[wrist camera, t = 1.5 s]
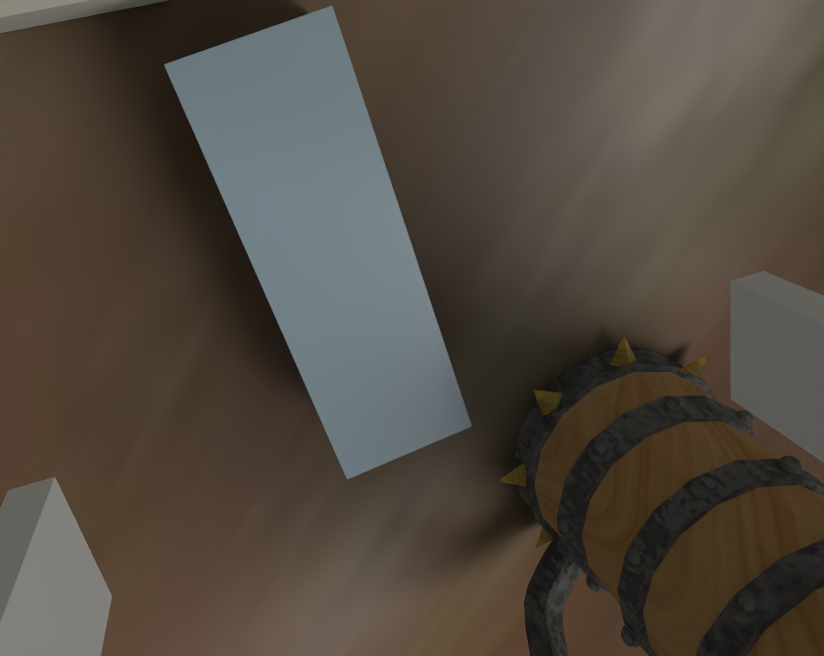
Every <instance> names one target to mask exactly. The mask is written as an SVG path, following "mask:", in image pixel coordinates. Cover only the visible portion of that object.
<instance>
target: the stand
mask: <svg viewBox="0 0 824 656" xmlns="http://www.w3.org/2000/svg"><path fill="white" fill-rule="evenodd" d="M165 1H170V0H0V33H4V32H9V31H14V30H20V29H25V28H30V27H35V26H40V25H45V24H51V23H56V22H61V21H66V20H71V19H76V18H82V17H87V16H92V15H97V14H102V13H108V12H113V11H118V10H123V9H128V8H133V7H139V6H144V5H149V4H154V3H159V2H165Z"/></svg>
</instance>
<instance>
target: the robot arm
mask: <svg viewBox="0 0 824 656" xmlns="http://www.w3.org/2000/svg"><path fill="white" fill-rule="evenodd" d="M730 305H731V399H732V400H733V401H735V402H736V403H738V404H739V405H741V406H742V407H743V408H745V409H746V410H748V411H749V412H751V413H752V414H754V415H755V416H757V417H758V418H759V419H761V420H762V421H764V422H765V423H767V424H768V425H770V426H771V427H773V428H774V429H775V430H777V431H778V432H780V433H781V434H783V435H784V436H786V437H787V438H789V439H790V440H791V441H793V442H794V443H796V444H797V445H799V446H800V447H802V448H803V449H805V450H806V451H807V452H809V453H810V454H812V455H813V456H815V457H816V458H818V459H819V460H820V461H822V462H823V463H824V296H823V295H820V294H818V293H815V292H813V291H811V290H808V289H806V288H803V287H801V286H799V285H796V284H794V283H791V282H789V281H786V280H784V279H782V278H779V277H777V276H774V275H772V274H770V273H767V272H765V271H763V272H759V273H756V274H753V275H749V276H746V277H742V278H739V279H735V280H732V281H730ZM111 599H112V595H111V593H110V591H109V589H108V587H107V585H106V583H105V581H104V579H103V577H102V574H101V572H100V570H99V568H98V566H97V564H96V562H95V560H94V558H93V556H92V553H91V551H90V549H89V547H88V545H87V543H86V541H85V539H84V537H83V535H82V533H81V530H80V528H79V526H78V524H77V522H76V520H75V518H74V516H73V514H72V512H71V509H70V507H69V505H68V503H67V501H66V499H65V497H64V495H63V493H62V491H61V489H60V486H59V484H58V482H57V480H56V478H55V477H52V478H49V479H45V480H42V481H39V482H35V483H32V484H28V485H25V486H21V487H18V488H14V489H11V490H8V492H7V494H6V497H5V499H4V501H3V503H2V505H1V507H0V656H101V651H102V646H103V641H104V635H105V630H106V625H107V620H108V614H109V609H110V604H111Z"/></svg>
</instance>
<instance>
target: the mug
mask: <svg viewBox="0 0 824 656" xmlns="http://www.w3.org/2000/svg"><path fill="white" fill-rule="evenodd" d="M706 358H707V355H706V356H704V357H702V358H700V359H698V360H696V361H694V362H693V363H691V364H689V365H687V366H685V367H683V366H682V365H681V364H679V363H677V362H675V361H673V360H671V359H668V358H666V357H664V356H662V355H660V354H658V353H656V352H654V351H652V350H631V348H630V346H629V344H628V342H627V340H626V338H625V336H623V338H622V340H621V342H620V344H619V346H618V348H617V349H612V350H610V351H607V352H605V353H602V354H600V355H597V356H595V357H592V358H589V359H587V360H584V361H582V362H579V363H577V364H574V365H573V366H572V367H570V368H569V369H568V370H567V371H566V372H564V373H563V374H562V375H561V376H560V377H559V378H557V379H556V380H555V381H554V382H553V383H551V384H550V385H549V386H548V387H547V388H545V389H544V390H543V391H541V390H533V392H534V394H535V397H536V401H535V403H534V404H533V406H532V408H531V409H530V411H529V413H528V414H527V416H526V418H525V419H524V421H523V423H522V424H521V426H520V428H519V432H518V437H517V443H516V448H515V454H514V459H513V465H512V466H513V469H514V470H513V471H511V472H510V473H509V474H507V475H506V476H504V477H503V478H501V479H500V480H498V481H500V482H505V483H509V484H514V485H518V488H519V492H520V495H521V498H522V499H523V501H524V502H525V503H526V504H527V505H528V506H529V507H530V508H531V509H532V510H533V514H534V517H535V519H536V520H537V521H538V522H539V523H540V525H541V526H542V527H543V528H542V531H541V534H540V537H539V540H538V543H537V546H536V547H538V546H541V545H543V544H545V543H547V542H549V541H551V540H552V542H551V543H550V545H549V546H548V548H547V549H546V551H545V553H544V555H543V556H542V558H541V560H540V562H539V563H538V565H537V567H536V569H535V572H534V574H533V576H532V578H531V580H530V582H529V584H528V588H527V592H526V596H525V601H524V608H525V626H526V633H527V639H528V645H529V651H530V656H568V652H567V647H566V642H565V637H564V629H563V616H562V613H563V609H564V605H565V602H566V600H567V598H568V595H569V593H570V591H571V589H572V587H573V585H574V583H575V581H576V580H577V578H578V576H579V574H580V573H581V571H582V570H583V571H584V572H585V573H586V574H587V575H588V576H587V578H586V582H587V585H588V587H589V588H590V589H592V590H594V591H601V590H603V589H604V590H605V591H608V592H610V593H611V594H612V595H613V597H614V598H615V599H616V600H617V602H618V603H619V604H620V606H621V611H622V615H623V620H624V623H625V626H623V629H622V631H621V636H622V639H623V641H624V642H625V643H626V644H627V645H628V646H631V647H638V646H641V647H642V649H643V650H644V651H645V652H646V653H647V654H648V655H649V656H824V484H823V483H822V482H820V481H819V480H818V479H816V478H815V477H813V476H812V475H811V474H809V473H808V472H806V471H803V467H802V464H801V462H800V461H799V460H798V459H796V458H795V457H792V456H784V457H782V458H780V459H778V458H777V457H776V456H774V455H773V454H772V453H771V452H770V451H768V450H767V449H766V448H765V447H764V446H762V444H761V443H760V441H759V440H758V438H757V437H756V435H755V434H754V432H753V431H752V429H751V427H752V426H753V423H754V418H753V417H752V415H751V414H750V413H748V412H747V411H738V412H737V411H736V410H734V409H732V408H730V407H728V406H726V405H723V404H721V403H719V402H718V401H717V399H716V398H715V396H714V395H713V393H712V392H711V390H710V389H709V387H708V386H707V384H706V383H705V381H704V380H702V379H701V378H699V376H700V374H701V371H702V368H703V366H704V363H705V361H706Z"/></svg>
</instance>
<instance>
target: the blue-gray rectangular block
mask: <svg viewBox="0 0 824 656" xmlns="http://www.w3.org/2000/svg"><path fill="white" fill-rule="evenodd" d="M164 66H165V68H166V71H167V73H168V75H169V77H170V80H171V82H172V84H173V86H174V89H175V91H176V93H177V95H178V98H179V100H180V102H181V105H182V107H183V109H184V111H185V114H186V116H187V118H188V120H189V123H190V125H191V127H192V129H193V132H194V134H195V136H196V138H197V141H198V143H199V145H200V148H201V150H202V152H203V154H204V157H205V159H206V161H207V163H208V166H209V168H210V170H211V172H212V175H213V177H214V179H215V182H216V184H217V186H218V188H219V191H220V193H221V195H222V197H223V200H224V202H225V204H226V206H227V209H228V211H229V213H230V216H231V218H232V220H233V222H234V225H235V227H236V229H237V231H238V234H239V236H240V238H241V240H242V243H243V245H244V247H245V249H246V252H247V254H248V256H249V259H250V261H251V263H252V265H253V268H254V270H255V272H256V274H257V277H258V279H259V281H260V283H261V286H262V288H263V290H264V293H265V295H266V297H267V299H268V302H269V304H270V306H271V308H272V311H273V313H274V315H275V317H276V320H277V322H278V324H279V327H280V329H281V331H282V333H283V336H284V338H285V340H286V342H287V345H288V347H289V349H290V351H291V354H292V356H293V358H294V361H295V363H296V365H297V367H298V370H299V372H300V374H301V376H302V379H303V381H304V383H305V385H306V388H307V390H308V392H309V394H310V397H311V399H312V401H313V404H314V406H315V408H316V410H317V413H318V415H319V417H320V419H321V422H322V424H323V426H324V428H325V431H326V433H327V435H328V438H329V440H330V442H331V444H332V447H333V449H334V451H335V453H336V456H337V458H338V460H339V462H340V465H341V467H342V469H343V472H344V474H345V476H346V478H347V479H349V478H352V477H354V476H357V475H359V474H361V473H364V472H366V471H368V470H371V469H373V468H375V467H378V466H380V465H382V464H385V463H387V462H389V461H392V460H394V459H397V458H399V457H401V456H404V455H406V454H408V453H411V452H413V451H415V450H418V449H420V448H422V447H425V446H427V445H429V444H432V443H434V442H437V441H439V440H441V439H444V438H446V437H448V436H451V435H453V434H455V433H458V432H460V431H462V430H465V429H467V428H469V427H472V425H471V422H470V419H469V416H468V413H467V410H466V407H465V404H464V401H463V398H462V395H461V392H460V389H459V386H458V383H457V380H456V377H455V374H454V371H453V368H452V365H451V362H450V359H449V356H448V353H447V350H446V347H445V344H444V341H443V338H442V335H441V332H440V329H439V326H438V323H437V320H436V317H435V314H434V311H433V308H432V305H431V302H430V299H429V296H428V293H427V290H426V287H425V284H424V281H423V278H422V275H421V272H420V269H419V265H418V262H417V259H416V256H415V253H414V250H413V247H412V244H411V241H410V238H409V235H408V232H407V229H406V226H405V223H404V220H403V217H402V214H401V211H400V208H399V205H398V202H397V199H396V196H395V193H394V190H393V187H392V184H391V181H390V178H389V175H388V172H387V169H386V166H385V163H384V160H383V157H382V154H381V151H380V148H379V145H378V142H377V139H376V136H375V133H374V130H373V127H372V124H371V121H370V118H369V115H368V112H367V109H366V106H365V103H364V100H363V97H362V94H361V91H360V88H359V85H358V82H357V79H356V76H355V73H354V70H353V67H352V64H351V61H350V57H349V54H348V51H347V48H346V45H345V42H344V39H343V36H342V33H341V30H340V27H339V24H338V21H337V18H336V15H335V12H334V9H333V6H330V7H327V8H324V9H321V10H318V11H315V12H312V13H309V14H306V15H304V16H301V17H298V18H295V19H292V20H289V21H286V22H284V23H281V24H278V25H275V26H272V27H269V28H266V29H264V30H261V31H258V32H255V33H252V34H249V35H247V36H244V37H241V38H238V39H235V40H232V41H229V42H227V43H224V44H221V45H218V46H215V47H212V48H209V49H207V50H204V51H201V52H198V53H195V54H192V55H189V56H187V57H184V58H181V59H178V60H175V61H172V62H170V63H167V64H164Z"/></svg>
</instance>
